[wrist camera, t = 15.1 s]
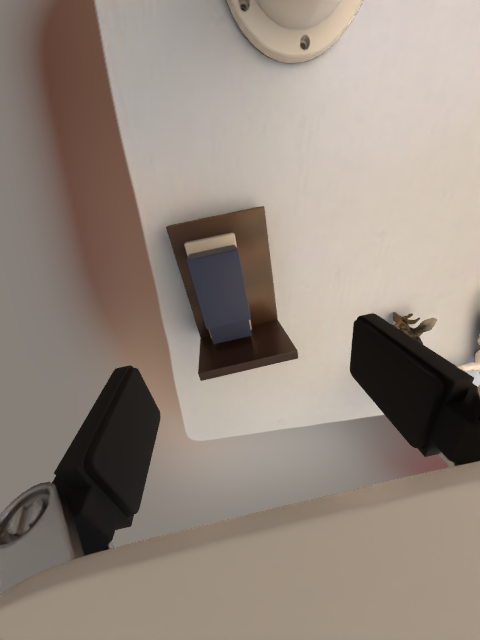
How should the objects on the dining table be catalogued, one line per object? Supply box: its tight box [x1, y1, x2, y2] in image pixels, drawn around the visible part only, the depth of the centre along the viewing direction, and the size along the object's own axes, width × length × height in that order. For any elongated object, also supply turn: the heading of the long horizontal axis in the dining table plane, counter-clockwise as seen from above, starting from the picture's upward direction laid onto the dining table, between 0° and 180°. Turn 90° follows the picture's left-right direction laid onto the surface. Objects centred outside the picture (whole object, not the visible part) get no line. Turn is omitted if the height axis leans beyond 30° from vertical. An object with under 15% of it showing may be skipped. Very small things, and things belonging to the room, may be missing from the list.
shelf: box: [166, 206, 298, 381], centre depth 23 cm, size 14×10×10 cm
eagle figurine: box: [393, 312, 437, 344], centre depth 33 cm, size 8×7×9 cm
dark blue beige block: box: [184, 232, 252, 344], centre depth 23 cm, size 11×5×5 cm, turn 11°
